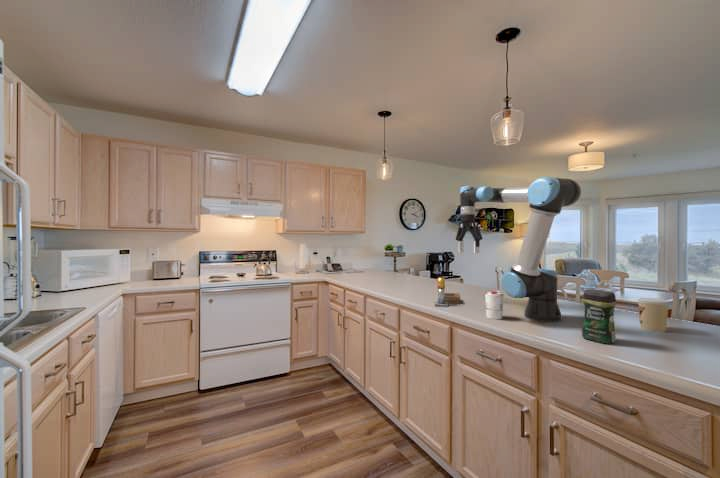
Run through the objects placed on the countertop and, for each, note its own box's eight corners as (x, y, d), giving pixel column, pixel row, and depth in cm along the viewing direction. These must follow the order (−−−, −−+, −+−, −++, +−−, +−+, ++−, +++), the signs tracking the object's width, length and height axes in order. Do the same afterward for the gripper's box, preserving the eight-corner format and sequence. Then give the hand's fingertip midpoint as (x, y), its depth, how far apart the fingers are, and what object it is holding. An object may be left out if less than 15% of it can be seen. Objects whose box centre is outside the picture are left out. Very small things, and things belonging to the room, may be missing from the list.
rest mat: (447, 306, 171) (447, 304, 171) (434, 306, 173) (434, 304, 173) (447, 303, 178) (447, 302, 178) (434, 303, 180) (434, 301, 180)
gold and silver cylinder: (446, 303, 175) (446, 278, 175) (442, 304, 173) (442, 279, 172) (439, 302, 178) (439, 277, 178) (436, 303, 175) (436, 278, 175)
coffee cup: (638, 324, 136) (638, 296, 136) (669, 328, 130) (669, 299, 129) (636, 329, 130) (636, 299, 130) (668, 334, 123) (668, 303, 123)
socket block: (460, 304, 177) (460, 297, 177) (440, 303, 180) (440, 296, 180) (459, 300, 188) (459, 293, 188) (440, 299, 191) (440, 292, 191)
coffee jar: (578, 338, 119) (578, 289, 119) (589, 334, 123) (589, 287, 123) (609, 346, 111) (609, 293, 110) (619, 342, 115) (619, 291, 114)
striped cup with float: (508, 320, 144) (508, 294, 144) (489, 320, 144) (489, 294, 144) (498, 314, 154) (498, 290, 154) (481, 314, 154) (481, 290, 154)
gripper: (449, 216, 186) (449, 252, 185) (476, 212, 162) (477, 253, 162) (460, 216, 188) (460, 252, 188) (489, 212, 164) (489, 253, 164)
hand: (468, 252), depth 175 cm, fingers open, 13 cm apart
